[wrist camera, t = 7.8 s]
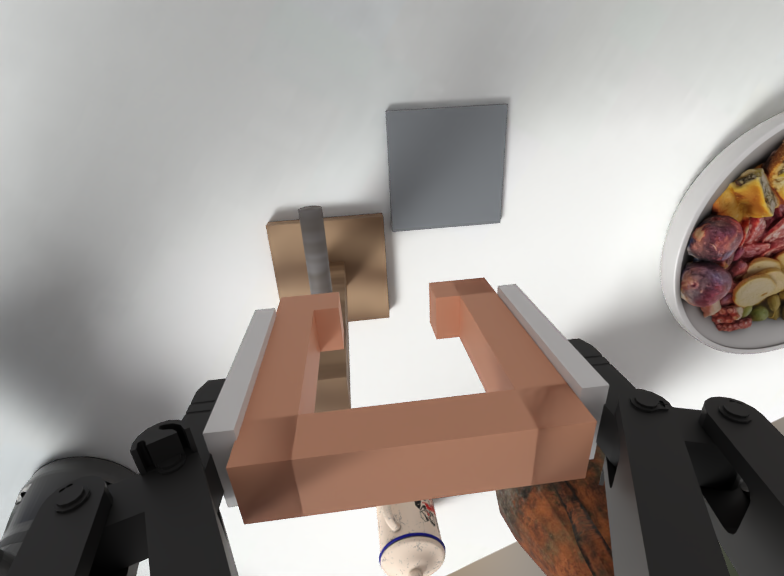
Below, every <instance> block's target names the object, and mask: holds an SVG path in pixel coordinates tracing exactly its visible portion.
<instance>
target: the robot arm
mask: <svg viewBox="0 0 784 576" xmlns="http://www.w3.org/2000/svg"><path fill="white" fill-rule="evenodd" d="M497 295H498V296H499V297H500V298H501V300H502V301H503V302H504V304H505V305H506V306H507V307H508V309H509V310H510V311H511V313H512V314H513V315H514V316H515V318H516V319H517V320H518V321H519V323H520V324H521V325H522V327H523V328H524V329H525V330H526V332H527V333H528V334H529V335H530V337H531V338H532V339H533V341H534V342H535V343H536V344H537V346H538V347H539V348H540V349H541V351H542V352H543V353H544V355H545V356H546V357H547V358H548V360H549V361H550V362H551V363H552V365H553V366H554V367H555V369H556V370H557V371H558V372H559V374H560V375H561V376H562V377H563V379H564V380H565V381H566V383H567V384H568V385H569V386H570V388H571V389H572V390H573V391H574V393H575V394H576V395H577V397H578V398H579V399H580V400H581V402H582V403H583V404H584V405H585V407H586V408H587V409H588V411H589V412H590V413H591V414H592V416H593V417H594V418H595V419H596V421H597V424H596V429H595V433H594V438H593V443H592V448H591V453H590V457H589V459H594V455H595V450H596V446H597V444H598V446H599V447H600V449H601V450H602V451H603V453H604V454H605V459H604V464H603V468H602V472H601V477H600V482H599V485H602V486H603V484H604V480H605V489H606V499H607V508H608V518H609V528H610V537H611V547H612V557H613V566H614V576H730V575H729V572H728V569H727V566H726V563H725V560H724V557H723V554H722V551H721V548H720V545H719V543H720V544H721V546H722V548H723V549H724V551H725V553H726V554H727V556H728V558H729V559H730V561H731V563H732V564H733V566H734V568H735V569H736V571H737V573H738V574H739V576H784V436H783V435H782V434H781V433H780V432H779V431H778V430H777V429H776V428H775V427H774V426H773V425H772V424H771V423H770V422H769V421H768V420H767V419H766V418H765V417H764V416H763V415H762V414H761V413H760V412H759V411H757V410H756V409H755V408H753V407H751V406H749V405H747V404H745V403H743V402H741V401H738V400H735V399H731V398H725V397H711V398H709V399H707V400H705V402H704V405H703V408H702V410H693V409H684V408H675V407H672V406H671V405H670V403H669V402H668V401H666V400H665V399H664V398H663V397H661V396H659V395H657V394H655V393H653V392H650V391H646V390H642V389H636V388H635V387H634V386H633V385H632V384H631V383H630V382H629V381H628V380H627V379H626V378H625V377H624V376H623V375H621V374H620V373H619V372H618V371H617V370H616V369H615V368H614V367H613V366H612V365H610V364H609V362H608V361H607V360H606V359H605V358H604V357H602V355H601V354H600V353H599V352H598V351H597V350H596V349H595V348H594V347H593V346H592V345H590V344H588V343H586V342H584V341H583V340H581V339H571V340H567V339H566V338H565V337H564V336H563V335H562V334H561V332H560V331H559V330H558V329H557V328H556V327H555V326H554V325H553V324H552V323H551V322H550V321H549V320H548V318H547V317H546V316H545V315H544V314H543V313H542V312H541V311H540V310H539V309H538V308H537V307H536V306H535V304H534V303H533V302H532V301H531V300H530V299H529V298H528V297H527V296H526V295H525V294H524V293H523V292H522V290H521V289H520V288H519V287H518V286H517V285H516V284H513V285H503V286H498V293H497ZM275 319H276V311H275V308H271V309H261V310H255V312H254V315H253V317H252V319H251V322H250V324H249V326H248V329H247V331H246V333H245V336H244V338H243V340H242V343H241V345H240V347H239V350H238V352H237V354H236V357H235V359H234V361H233V364H232V366H231V368H230V371H229V373H228V375H227V378H226V379H218V380H209V381H207V382H206V383H205V384H204V385H203V386H202V387H201V388H200V389H199V390H198V391H197V392H196V394H195V396H194V398H193V400H192V402H191V405H190V406H189V408H188V410H187V412H186V415H185V416H184V417H183V419H182V421H181V420H168V421H165V422H161V423H158V424H156V425H154V426H152V427H150V428H148V429H147V430H145V431H144V432H143V433H141V434H140V435H139V436H138V437H137V438H136V440H135V441H134V442H133V443H132V446H131V450H130V452H131V455H132V457H133V459H134V461H135V463H136V465H137V468H138V470H139V472H140V474H138V475H136V474H134V473H133V472H132V471H130V470H128V469H127V468H125V467H123V466H121V465H118V464H116V463H113V462H110V461H106V460H102V459H97V458H89V457H73V458H65V459H61V460H57V461H54V462H51V463H49V464H47V465H45V466H43V467H42V468H40V469H39V470H38V471H37V472H36V473H35V474H34V475H33V476H32V477H31V478H30V480H29V481H28V482H27V483H26V484H25V486H24V487H23V488H22V490H21V491H20V493H19V495H18V497H17V500H16V503H15V507H14V509H13V511H12V513H11V516H10V518H9V521H8V523H7V526H6V529H5V531H4V534H3V537H2V539H1V541H0V576H136V574H137V569H138V565H139V562H140V561H143V560H145V559H147V558H149V567H150V576H238V572H237V569H236V565H235V562H234V558H233V555H232V551H231V548H230V544H229V540H228V537H227V533H226V530H225V526H224V523H223V519H222V516H221V513H220V510H219V506H220V503H221V500H222V497H223V494H224V497H225V500H226V503H227V506H228V507H234V506H238V503H237V500H236V497H235V494H234V491H233V488H232V485H231V482H230V479H229V476H228V473H227V470H226V466H227V463H228V460H229V457H230V454H231V451H232V448H233V445H234V442H235V440H237V438H238V435H239V432H240V429H241V425H242V422H243V419H244V416H245V413H246V410H247V407H248V403H249V400H250V397H251V394H252V391H253V388H254V385H255V381H256V378H257V375H258V372H259V369H260V366H261V363H262V359H263V356H264V353H265V350H266V347H267V344H268V341H269V337H270V334H271V331H272V328H273V325H274V322H275ZM718 541H719V542H718Z"/></svg>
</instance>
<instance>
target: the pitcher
mask: <svg viewBox="0 0 784 576" xmlns="http://www.w3.org/2000/svg"><path fill="white" fill-rule="evenodd" d="M604 459H605V454H604V453H603V451H602V450H601V449H600V447H599V446H598V444H597V446H596V450H595V455H594V459H589V462H588V467H587V472H586V477H585V478H582V479H575V480H567V481H560V482H552V483H545V484H538V485H530V486H523V487H516V488H508V489H501V490H496V495H497V500H498V505H499V510H500V513H501V515H502V517H503V518H504V520H505V522H506V523H507V525H508V527H509V529H510V530H511V532H512V534H513V535H514V537H515V539H516V540H517V541H518V542H519V544H520V545H521V547H522V548H523V549H524V550H525V551H526V552H527V553H528V554H529V556H530V557H531V558H532V559H533V560H534V562H535V563H536V564H537V565H538V566H539V567H540V568H541V570H542V571H543V572H544V573H545V574H546V575H547V576H614V566H613V557H612V547H611V537H610V528H609V518H608V508H607V499H606V489H605V480H604V484H603V486H602V485H599V482H600V477H601V472H602V468H603V464H604Z"/></svg>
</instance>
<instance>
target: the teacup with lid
mask: <svg viewBox="0 0 784 576" xmlns="http://www.w3.org/2000/svg"><path fill="white" fill-rule="evenodd" d="M376 508H377V519H378V531H379V542H380V556H379V562H380V565H381V567H382V569H383V571H384V572H385V573H386V574H387V575H388V576H430V575H431V574H433V573H434V572H436V571H437V570H438V569H439V568H440V567H441V565H442V564H443V562H444V559H445V546H444V544H443V542H442V540H441V536H440V531H439V527H438V523H437V518H436V514H435V510H434V505H433V501H432V499H427V500H420V501H413V502H405V503H398V504H390V505H383V506H376Z"/></svg>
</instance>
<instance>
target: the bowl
mask: <svg viewBox="0 0 784 576" xmlns="http://www.w3.org/2000/svg"><path fill="white" fill-rule="evenodd" d="M660 277H661V285H662V290H663V294H664V298H665V300H666V303H667V305H668V307H669V310H670V311H671V313H672V315H673V316H674V318H675V319H676V320H677V322H678V323H679V324H680V325H681V326H682V327H683V328H684V329H685V330H686V331H687V332H688V333H689V334H690V335H692V336H693V337H694V338H696V339H697V340H699V341H700V342H702V343H703V344H705V345H707V346H709V347H711V348H714V349H716V350H720V351H723V352H728V353H735V354H755V353H763V352H769V351H773V350H777V349H781V348H784V112H782V113H780V114H777V115H775V116H773V117H771V118H769V119H767V120H766V121H764V122H762V123H760V124H759V125H757V126H755V127H754V128H752V129H750V130H749V131H747V132H746V133H745V134H743V135H742V136H740V137H739V138H738V139H736V140H735V141H734V142H732V143H731V144H730V145H729V146H728V147H726V148H725V149H724V150H723V151H722V152H721V153H720V154H719V155H717V156H716V157H715V158H714V159H713V160H712V161H711V162H710V164H709V165H708V166H707V167H706V168H705V169H704V170H703V171H702V172H701V174H700V175H699V176H698V177H697V179H696V180H695V181H694V182H693V184H692V185H691V187H690V188H689V189H688V191H687V192H686V194H685V195H684V197H683V199H682V200H681V202H680V204H679V206H678V207H677V209H676V211H675V213H674V215H673V218H672V220H671V222H670V225H669V227H668V230H667V233H666V236H665V240H664V244H663V248H662V254H661V263H660Z"/></svg>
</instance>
